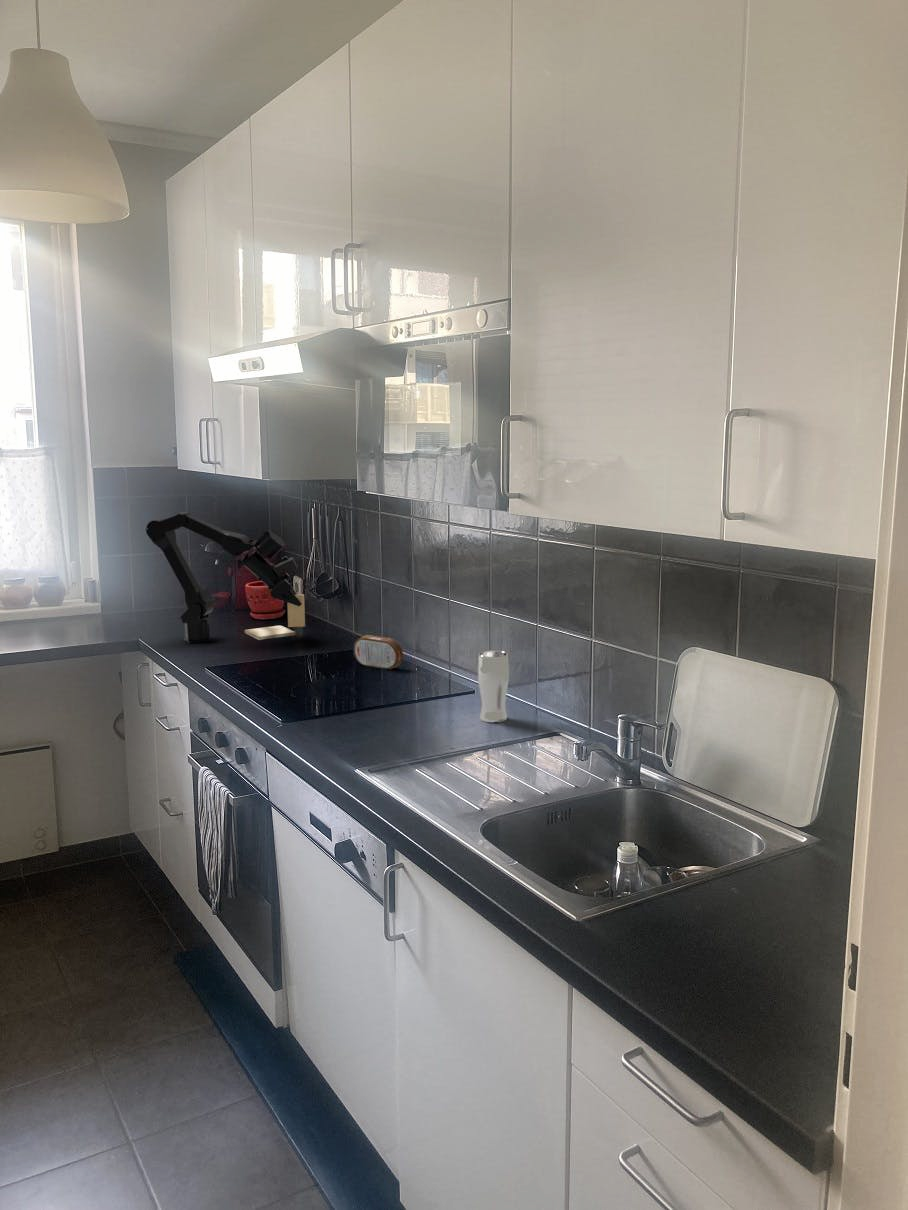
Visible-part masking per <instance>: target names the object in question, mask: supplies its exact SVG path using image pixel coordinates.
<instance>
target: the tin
mask: <svg viewBox="0 0 908 1210" xmlns="http://www.w3.org/2000/svg"><path fill="white" fill-rule="evenodd" d="M353 654H354V657H355V659H356V661H357V662H358V663H359V664H360V665H362V666H364V667H369V668H374V669H375V668H376V669H382V670H387V669H389V670H392V669H396V668H398V667H399V666H400V665H401V664H402V662H403V659H404V653H403V648H402V646H401V645H400V643H399V642H398V641H396V640H395V639H393V638H392V637H385V636H376V635H371V634H365V635H363V636H362V637H359V638H358V639H356V641H355V642H354V643H353Z"/></svg>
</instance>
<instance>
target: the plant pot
mask: <svg viewBox="0 0 908 1210" xmlns="http://www.w3.org/2000/svg"><path fill="white" fill-rule="evenodd" d="M244 588H245V597H246V601H247V604H248V606H249V608H250V610H251V611H250V613H249V615H250V616H251V617H252V618H253V619H256V620H261V621H262V620H263V621H264V620H272V619H277V618H281V617H283V616H284V614H285V612H286V610H285V609H284V608H283V607H284V603H285V601H282V600H279V599H276V600H275V599H274V598H273V597H271V596H270V590H269V589H268V586H266V585H265V584H264V583H263V582H262V581H259V580H257V581H252V582H248V583H246V584H245V587H244Z"/></svg>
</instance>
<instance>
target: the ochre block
mask: <svg viewBox="0 0 908 1210" xmlns="http://www.w3.org/2000/svg"><path fill="white" fill-rule="evenodd" d="M295 596H296V597H297V598H298V599H299V601H300V602H301V603H302V604H301V606H296V605H294V604H291V603H288V602H286V603H287V628H295V627H296V628H303V627H306V619H305V618H306V614H305V612H306V611H305V594H303V593H300V594H298V593H296V595H295Z"/></svg>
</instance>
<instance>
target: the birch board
mask: <svg viewBox="0 0 908 1210" xmlns="http://www.w3.org/2000/svg"><path fill="white" fill-rule="evenodd" d="M244 633H245V634H246V635H248V636H250V637H252V638H254V639H255V640H258V641H262V640H267V639H276V638H285V637H292V636H296V631H294V630H291V629H290V628H288V627H285V626H283V625H274V626H265V627H258V628H250V629H244Z"/></svg>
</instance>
